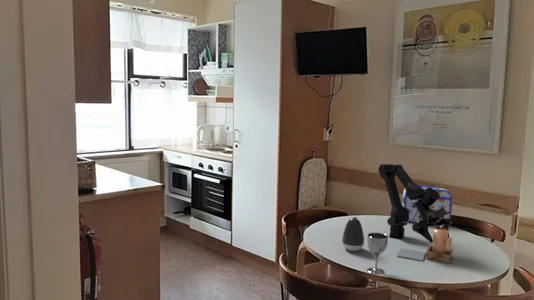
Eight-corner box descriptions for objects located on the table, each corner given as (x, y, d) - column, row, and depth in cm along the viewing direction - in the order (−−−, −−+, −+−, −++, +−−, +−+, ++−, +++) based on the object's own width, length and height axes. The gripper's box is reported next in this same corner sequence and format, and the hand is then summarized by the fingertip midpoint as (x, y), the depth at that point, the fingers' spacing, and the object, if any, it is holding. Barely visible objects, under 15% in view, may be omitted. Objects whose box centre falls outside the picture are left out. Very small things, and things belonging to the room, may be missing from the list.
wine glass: (363, 267, 175) (365, 232, 174) (381, 266, 176) (383, 232, 174) (369, 275, 167) (371, 238, 166) (388, 274, 168) (391, 238, 166)
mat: (396, 256, 188) (396, 255, 188) (400, 249, 198) (400, 248, 197) (422, 261, 183) (422, 260, 183) (425, 253, 193) (425, 252, 193)
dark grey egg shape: (365, 247, 199) (366, 216, 198) (362, 254, 190) (364, 222, 188) (343, 244, 203) (344, 213, 201) (340, 251, 193) (341, 219, 191)
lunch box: (400, 223, 241) (403, 185, 238) (398, 218, 251) (401, 182, 248) (451, 226, 235) (454, 188, 233) (447, 221, 245) (450, 184, 243)
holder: (426, 259, 186) (426, 251, 185) (428, 252, 195) (428, 244, 194) (450, 263, 181) (451, 255, 181) (451, 256, 190) (452, 248, 190)
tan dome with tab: (428, 256, 190) (430, 228, 188) (439, 254, 192) (441, 227, 190) (443, 263, 181) (445, 234, 180) (454, 261, 183) (456, 233, 182)
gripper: (417, 203, 187) (433, 234, 178) (450, 200, 193) (467, 231, 184) (405, 215, 195) (420, 246, 186) (437, 213, 201) (453, 242, 192)
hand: (440, 241), depth 187 cm, fingers open, 9 cm apart
